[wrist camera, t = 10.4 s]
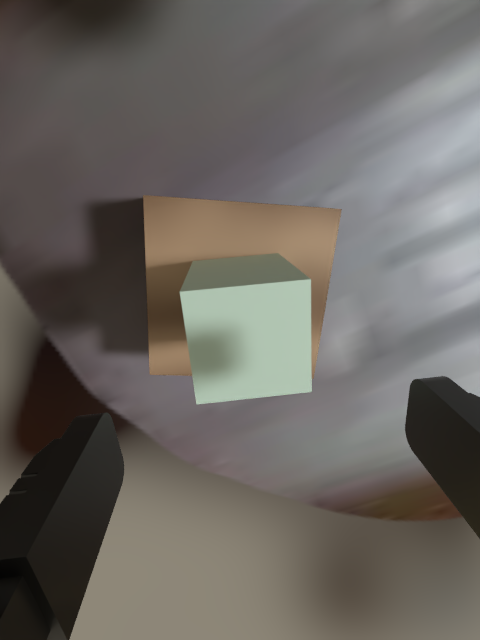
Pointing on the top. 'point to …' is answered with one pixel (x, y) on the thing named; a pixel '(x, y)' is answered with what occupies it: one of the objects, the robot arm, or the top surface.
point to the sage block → (247, 327)
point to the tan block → (225, 242)
